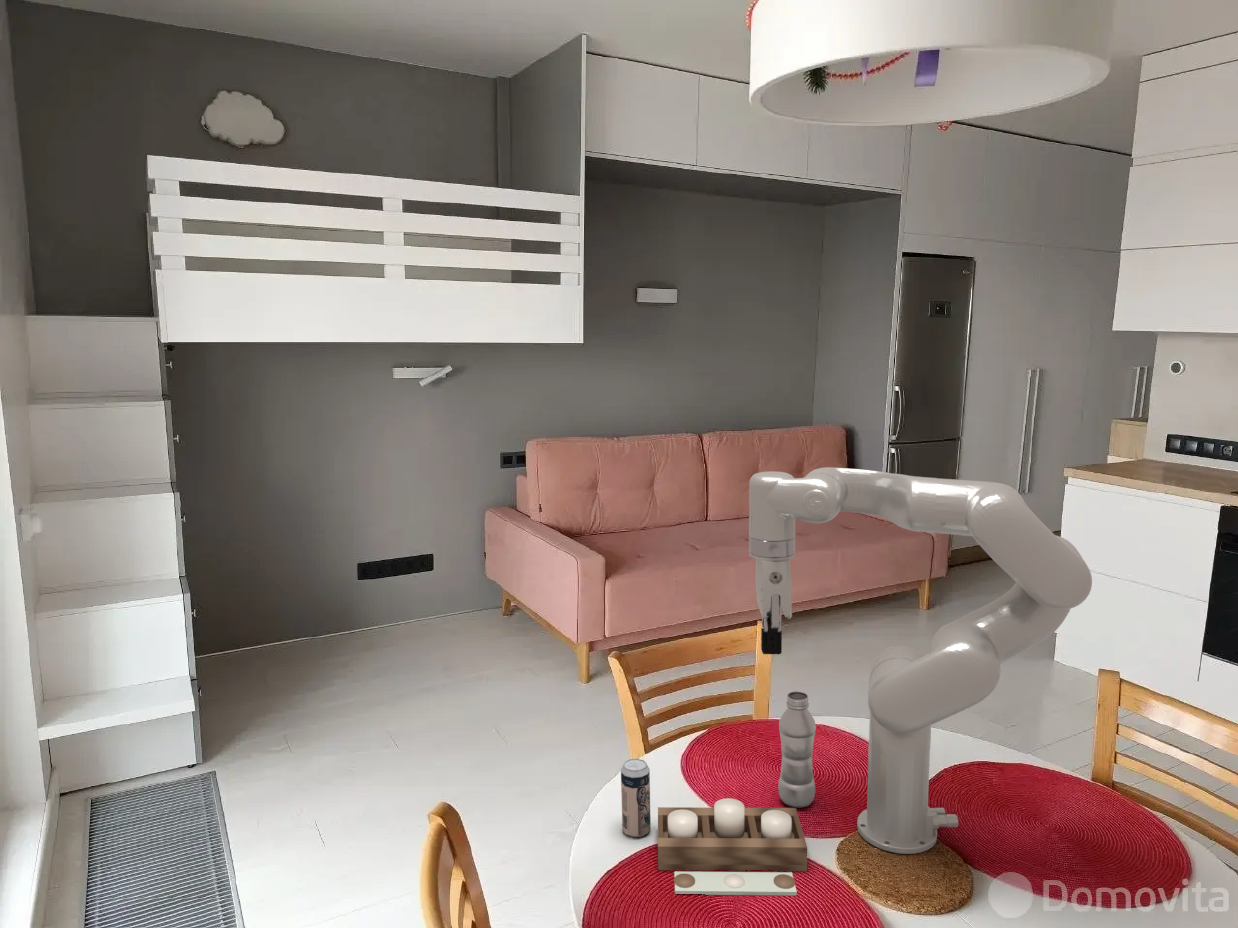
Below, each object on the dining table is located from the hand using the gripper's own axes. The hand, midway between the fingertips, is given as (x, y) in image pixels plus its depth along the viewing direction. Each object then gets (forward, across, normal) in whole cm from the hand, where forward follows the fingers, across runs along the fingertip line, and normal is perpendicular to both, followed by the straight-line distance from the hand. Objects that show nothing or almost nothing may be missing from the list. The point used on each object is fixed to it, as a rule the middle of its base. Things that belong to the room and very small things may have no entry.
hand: (771, 652), depth 144 cm
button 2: (+28, -11, 0) cm, 30 cm away
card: (+29, -20, +8) cm, 36 cm away
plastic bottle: (+29, +3, -5) cm, 30 cm away
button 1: (+28, -11, +16) cm, 34 cm away
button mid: (+26, -11, +8) cm, 29 cm away
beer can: (+29, -6, +23) cm, 38 cm away
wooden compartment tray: (+29, -11, +8) cm, 32 cm away
